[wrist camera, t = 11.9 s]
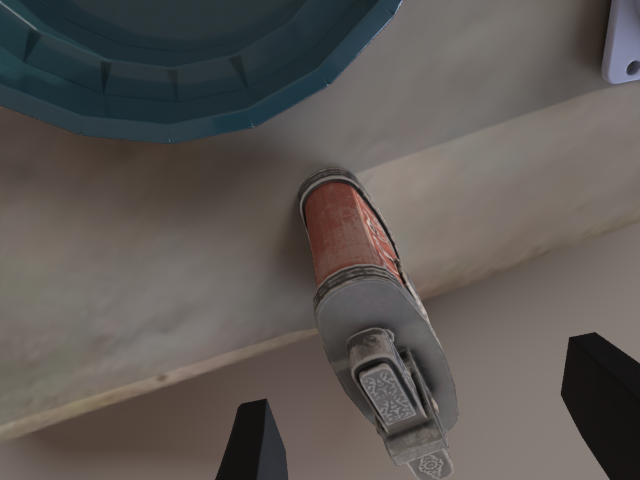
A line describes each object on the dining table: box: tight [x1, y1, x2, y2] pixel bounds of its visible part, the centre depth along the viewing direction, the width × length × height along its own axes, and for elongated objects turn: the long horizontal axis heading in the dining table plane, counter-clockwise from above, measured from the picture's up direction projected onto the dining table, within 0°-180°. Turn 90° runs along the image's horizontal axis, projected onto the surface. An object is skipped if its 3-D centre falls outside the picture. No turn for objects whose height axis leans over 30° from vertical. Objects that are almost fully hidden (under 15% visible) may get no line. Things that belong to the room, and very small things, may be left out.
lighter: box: [298, 168, 459, 480], centre depth 17 cm, size 8×3×10 cm, turn 25°
